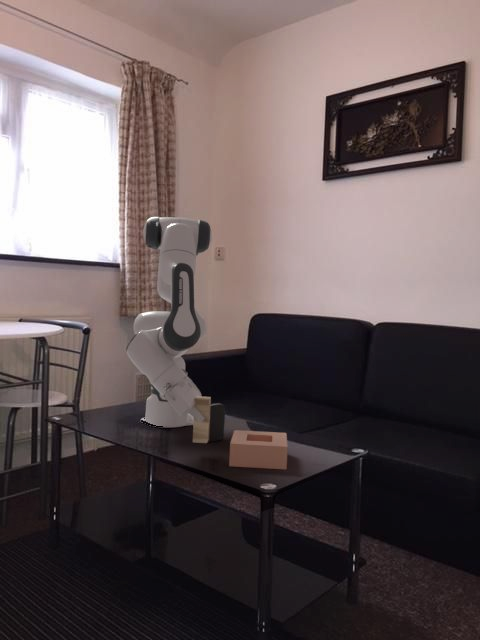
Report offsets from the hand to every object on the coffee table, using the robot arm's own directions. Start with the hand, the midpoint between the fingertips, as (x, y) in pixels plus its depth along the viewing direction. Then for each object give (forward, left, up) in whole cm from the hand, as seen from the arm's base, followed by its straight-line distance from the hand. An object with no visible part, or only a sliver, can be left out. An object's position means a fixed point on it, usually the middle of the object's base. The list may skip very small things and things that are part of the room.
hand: (204, 418), depth 149 cm
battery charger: (-18, +1, -11) cm, 21 cm away
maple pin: (0, -1, -6) cm, 6 cm away
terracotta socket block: (0, +16, -11) cm, 19 cm away
